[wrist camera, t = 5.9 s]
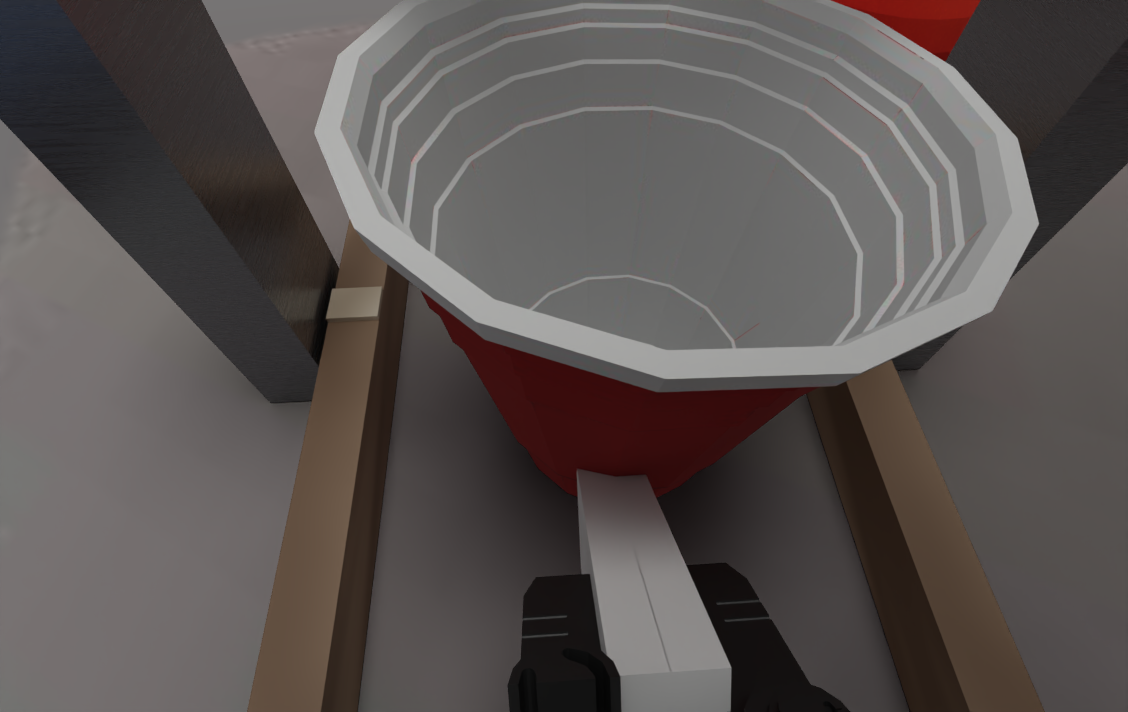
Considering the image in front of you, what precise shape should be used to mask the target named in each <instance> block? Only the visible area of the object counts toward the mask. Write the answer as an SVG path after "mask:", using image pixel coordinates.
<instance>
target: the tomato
mask: <svg viewBox="0 0 1128 712" xmlns="http://www.w3.org/2000/svg"><path fill="white" fill-rule="evenodd" d="M831 1H834V2H836V3H839V4H842V5H844V6H847V7H850V8H852V9H855V10H858V11H860V12H863V13H866V14H868V15H870V16H872V17H874V18H875V19H877V20H878V21H880V22H882V23H883V24H885V25H887V26H888V27H890V28H891V29H893V30H895V31H896V32H898V33H899V34H901V35H903V36H904V37H906V38H907V39H909V40H911V41H912V42H914V43H916V44H917V45H919V46H920V47H922V48H924V49H925V50H927V51H928V52H930V53H932V54H933V55H935V56H936V57H938V58H940V59H941V60H943V61H946V60H947V58H948V56H949V54H950V53H951V51H952V49H953V47H954V46H955V44H956V42H957V40H958V39H959V37H960V35H961V34H962V32H963V30H964V28H965V27H966V25H967V23H968V21H969V20H970V18H971V16H972V14H973V13H974V11H975V9H976V7H977V6H978V4H979V2H980V1H981V0H831Z"/></svg>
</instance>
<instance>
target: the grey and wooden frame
mask: <svg viewBox="0 0 1128 712" xmlns="http://www.w3.org/2000/svg"><path fill="white" fill-rule="evenodd" d="M945 62H946V63H948V64H949V65H951V66H953V67H954V68H955V69H956V70H957V71H958V72H959V73H960V74H961V76H962V77H963V78H964V79H965V80H966V81H967V82H968V83H969V85H970V86H971V87H972V88H973V89H974V90H975V91H976V92H977V94H978V95H979V96H980V97H981V98H982V99H983V100H984V101H985V102H986V104H987V105H988V106H989V107H990V108H991V109H992V110H993V111H994V113H995V114H996V115H997V116H998V117H999V118H1000V119H1001V120H1002V121H1003V123H1004V124H1005V125H1006V126H1007V127H1008V128H1009V129H1010V130H1011V132H1012V133H1013V134H1014V135H1015V136H1016V137H1017V138H1018V142H1019V146H1020V150H1021V154H1022V158H1023V162H1024V166H1025V170H1026V174H1027V178H1028V182H1029V186H1030V190H1031V194H1032V198H1033V202H1034V206H1035V210H1036V214H1037V218H1038V222H1039V225H1038V227H1037V229H1036V231H1035V232H1034V234H1033V236H1032V238H1031V240H1030V242H1029V244H1028V245H1027V247H1026V249H1025V251H1024V253H1023V255H1022V257H1021V259H1020V260H1019V262H1018V264H1017V266H1016V268H1015V270H1014V272H1013V273H1012V275H1011V277H1010V279H1011V278H1012V277H1013V276H1014V275H1015V274H1016V273H1017V272H1018V271H1019V270H1020V269H1021V268H1022V267H1023V266H1024V265H1025V264H1026V263H1027V262H1028V261H1029V260H1030V259H1031V258H1032V257H1033V256H1034V255H1035V254H1036V253H1037V252H1038V251H1039V250H1040V249H1041V248H1042V247H1043V246H1044V245H1045V244H1046V243H1047V242H1048V241H1049V240H1050V239H1051V238H1052V237H1053V236H1054V235H1055V234H1056V233H1057V232H1058V231H1059V230H1060V229H1062V228H1063V227H1064V226H1065V225H1066V224H1067V223H1068V222H1069V221H1070V220H1071V219H1072V218H1073V217H1074V216H1075V215H1076V214H1077V213H1078V212H1079V211H1080V210H1081V209H1082V208H1083V207H1084V206H1085V205H1086V204H1087V203H1088V202H1089V201H1090V200H1091V199H1092V198H1093V197H1094V196H1095V195H1096V194H1097V193H1098V192H1099V191H1100V190H1101V189H1102V188H1103V187H1104V186H1105V185H1106V184H1107V183H1108V182H1109V181H1110V180H1111V179H1112V178H1113V177H1114V176H1115V175H1116V174H1117V173H1118V172H1119V171H1120V170H1121V169H1122V168H1123V167H1124V166H1125V165H1126V164H1127V163H1128V0H981V1H980V2H979V4H978V6H977V7H976V9H975V11H974V13H973V14H972V16H971V18H970V20H969V21H968V23H967V25H966V27H965V28H964V30H963V32H962V34H961V35H960V37H959V39H958V40H957V42H956V44H955V46H954V47H953V49H952V51H951V53H950V54H949V56H948V58H947V60H946V61H945ZM0 119H1V120H2V121H3V122H4V124H6V126H7V127H8V128H9V129H10V130H11V131H12V132H13V133H14V134H15V135H16V136H17V137H18V138H19V139H20V140H21V141H22V142H23V143H24V145H25V146H26V147H27V148H28V149H29V150H30V151H31V152H32V153H33V154H34V155H35V156H36V157H37V158H38V159H39V160H40V161H41V162H42V163H43V164H44V166H45V167H46V168H47V169H48V170H49V171H50V172H51V173H52V174H53V175H54V176H55V177H56V178H57V179H58V180H59V181H60V182H61V183H62V184H63V185H64V187H65V188H66V189H67V190H68V191H69V192H70V193H71V194H72V195H73V196H74V197H75V198H76V199H77V200H78V201H79V202H80V203H81V204H82V205H83V206H84V208H85V209H86V210H87V211H88V212H89V213H90V214H91V215H92V216H93V217H94V218H95V219H96V220H97V221H98V222H99V223H100V224H101V225H102V226H103V227H104V229H105V230H106V231H107V232H108V233H109V234H110V235H111V236H112V237H113V238H114V239H115V240H116V241H117V242H118V243H119V244H120V245H121V246H122V247H123V248H124V250H125V251H126V252H127V253H128V254H129V255H130V256H131V257H132V258H133V259H134V260H135V261H136V262H137V263H138V264H139V265H140V266H141V267H142V268H143V269H144V271H145V272H146V273H147V274H148V275H149V276H150V277H151V278H152V279H153V280H154V281H155V282H156V283H157V284H158V285H159V286H160V287H161V288H162V289H163V290H164V292H165V293H166V294H167V295H168V296H169V297H170V298H171V299H172V300H173V301H174V302H175V303H176V304H177V305H178V306H179V307H180V308H181V309H182V310H183V311H184V313H185V314H186V315H187V316H188V317H189V318H190V319H191V320H192V321H193V322H194V323H195V324H196V325H197V326H198V327H199V328H200V329H201V330H202V331H203V332H204V334H205V335H206V336H207V337H208V338H209V339H210V340H211V341H212V342H213V343H214V344H215V345H216V346H217V347H218V348H219V349H220V350H221V351H222V352H223V353H224V355H225V356H226V357H227V358H228V359H229V360H230V361H231V362H232V363H233V364H234V365H235V366H236V367H237V368H238V369H239V370H240V371H241V372H242V373H243V374H244V376H245V377H246V378H247V379H248V380H249V381H250V382H251V383H252V384H253V385H254V386H255V387H256V388H257V389H258V390H259V391H260V392H261V393H262V394H263V395H264V397H265V398H266V399H267V400H268V401H269V402H270V403H276V402H295V401H312V403H311V407H310V412H309V417H308V422H307V427H306V431H305V436H304V441H303V446H302V451H301V455H300V460H299V465H298V470H297V475H296V479H295V484H294V489H293V494H292V499H291V503H290V508H289V513H288V518H287V523H286V527H285V532H284V537H283V542H282V547H281V551H280V556H279V561H278V566H277V571H276V575H275V580H274V585H273V590H272V595H271V599H270V604H269V609H268V614H267V619H266V623H265V628H264V633H263V638H262V643H261V647H260V652H259V657H258V662H257V667H256V672H255V676H254V681H253V686H252V691H251V696H250V700H249V705H248V710H247V712H357V710H358V701H359V693H360V685H361V676H362V668H363V659H364V651H365V643H366V634H367V626H368V618H369V609H370V601H371V593H372V584H373V576H374V567H375V559H376V551H377V542H378V534H379V526H380V517H381V509H382V500H383V492H384V484H385V475H386V467H387V459H388V450H389V442H390V434H391V425H392V417H393V408H394V400H395V392H396V383H397V375H398V367H399V358H400V350H401V341H402V333H403V325H404V316H405V308H406V300H407V291H408V283H409V280H407V279H406V278H405V277H403V276H402V275H401V274H400V273H398V272H397V271H396V270H394V269H393V268H392V267H390V266H389V265H388V264H387V263H385V262H384V261H383V260H381V259H380V258H379V257H378V256H376V255H375V254H374V253H372V252H371V250H370V249H369V248H368V246H367V245H366V244H365V242H364V241H363V240H362V238H361V237H360V236H359V234H358V233H357V232H356V230H355V229H354V227H353V225H352V222H351V220H349V225H348V230H347V235H346V239H345V244H344V249H343V254H342V259H341V263H340V268H339V267H338V265H337V263H336V261H335V260H334V258H333V256H332V254H331V252H330V250H329V248H328V246H327V244H326V242H325V240H324V238H323V236H322V234H321V232H320V230H319V228H318V226H317V224H316V223H315V221H314V219H313V217H312V215H311V213H310V211H309V209H308V207H307V205H306V203H305V201H304V199H303V197H302V195H301V193H300V191H299V189H298V187H297V185H296V184H295V182H294V180H293V178H292V176H291V174H290V172H289V170H288V168H287V166H286V164H285V162H284V160H283V158H282V156H281V154H280V152H279V150H278V148H277V147H276V145H275V143H274V141H273V139H272V137H271V135H270V133H269V131H268V129H267V127H266V125H265V123H264V121H263V119H262V117H261V115H260V113H259V111H258V109H257V108H256V106H255V104H254V102H253V100H252V98H251V96H250V94H249V92H248V90H247V88H246V86H245V84H244V82H243V80H242V78H241V76H240V74H239V72H238V71H237V69H236V67H235V65H234V63H233V61H232V59H231V57H230V55H229V53H228V51H227V49H226V47H225V45H224V43H223V41H222V39H221V37H220V35H219V34H218V32H217V30H216V28H215V26H214V24H213V22H212V20H211V18H210V16H209V14H208V12H207V10H206V8H205V6H204V4H203V2H202V0H0ZM1010 279H1009V280H1010ZM960 328H961V327H960ZM960 328H957V329H955V330H953V331H951V332H949V333H947V334H945V335H943V336H941V337H938V338H936V339H934V340H932V341H930V342H928V343H926V344H924V345H922V346H919V347H917V348H915V349H913V350H911V351H909V352H907V353H905V354H903V355H900V356H898V357H896V358H894V359H892V360H890V361H888V362H886V363H883V364H881V365H879V366H877V367H875V368H873V369H871V370H869V371H867V372H864V373H862V374H860V375H858V376H856V377H854V378H852V379H850V380H848V381H845V382H843V383H841V384H839V385H837V386H825V387H819V388H817V389H815V390H813V391H811V392H809V393H807V396H808V400H809V403H810V406H811V409H812V412H813V415H814V418H815V421H816V424H817V427H818V430H819V433H820V436H821V439H822V442H823V445H824V449H825V452H826V455H827V458H828V461H829V464H830V467H831V470H832V473H833V476H834V479H835V482H836V485H837V488H838V491H839V494H840V497H841V501H842V504H843V507H844V510H845V513H846V516H847V519H848V522H849V525H850V528H851V531H852V534H853V537H854V540H855V543H856V546H857V550H858V553H859V556H860V559H861V562H862V565H863V568H864V571H865V574H866V577H867V580H868V583H869V586H870V589H871V592H872V595H873V598H874V602H875V605H876V608H877V611H878V614H879V617H880V620H881V623H882V626H883V629H884V632H885V635H886V638H887V641H888V644H889V647H890V651H891V654H892V657H893V660H894V663H895V666H896V669H897V672H898V675H899V678H900V681H901V684H902V687H903V690H904V693H905V696H906V699H907V703H908V706H909V709H910V712H1045V711H1044V709H1043V707H1042V704H1041V702H1040V700H1039V697H1038V695H1037V693H1036V690H1035V688H1034V686H1033V684H1032V681H1031V679H1030V677H1029V674H1028V672H1027V670H1026V667H1025V665H1024V663H1023V661H1022V658H1021V656H1020V654H1019V651H1018V649H1017V647H1016V644H1015V642H1014V640H1013V638H1012V635H1011V633H1010V631H1009V628H1008V626H1007V624H1006V621H1005V619H1004V617H1003V615H1002V612H1001V610H1000V608H999V605H998V603H997V601H996V598H995V596H994V594H993V592H992V589H991V587H990V585H989V582H988V580H987V578H986V575H985V573H984V571H983V569H982V566H981V564H980V562H979V559H978V557H977V555H976V553H975V550H974V548H973V546H972V543H971V541H970V539H969V536H968V534H967V532H966V530H965V527H964V525H963V523H962V520H961V518H960V516H959V513H958V511H957V509H956V507H955V504H954V502H953V500H952V497H951V495H950V493H949V490H948V488H947V486H946V484H945V481H944V479H943V477H942V474H941V472H940V470H939V467H938V465H937V463H936V461H935V458H934V456H933V454H932V451H931V449H930V447H929V444H928V442H927V440H926V438H925V435H924V433H923V431H922V428H921V426H920V424H919V421H918V419H917V417H916V415H915V412H914V410H913V408H912V405H911V403H910V401H909V398H908V396H907V394H906V392H905V389H904V387H903V385H902V382H901V380H900V378H899V375H898V373H897V371H896V370H908V369H920V368H921V367H922V366H923V365H924V364H925V363H926V362H927V361H928V360H929V359H930V358H931V357H932V356H933V355H934V354H935V353H936V352H937V351H938V350H939V349H940V348H941V347H942V346H943V345H944V344H945V343H946V342H947V341H948V340H949V339H950V338H951V337H952V336H953V335H954V334H955V333H956V332H957V331H958V330H959V329H960Z"/></svg>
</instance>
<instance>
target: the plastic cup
mask: <svg viewBox="0 0 1128 712" xmlns="http://www.w3.org/2000/svg"><path fill="white" fill-rule="evenodd" d="M314 133H315V136H316V138H317V140H318V143H319V145H320V148H321V150H322V153H323V155H324V157H325V160H326V162H327V165H328V167H329V169H330V172H331V174H332V177H333V179H334V181H335V184H336V186H337V189H338V191H339V194H340V196H341V198H342V201H343V203H344V206H345V208H346V210H347V213H348V215H349V218H350V220H351V222H352V225H353V227H354V229H355V230H356V232H357V233H358V234H359V236H360V237H361V238H362V240H363V241H364V242H365V244H366V245H367V246H368V248H369V249H370V250H371V252H372V253H374V254H375V255H376V256H378V257H379V258H380V259H381V260H383V261H384V262H385V263H387V264H388V265H389V266H390V267H392V268H393V269H394V270H396V271H397V272H398V273H400V274H401V275H402V276H403V277H405V278H406V279H407V280H409V281H410V282H411V283H412V284H414V285H415V286H416V287H418V288H419V289H420V290H421V292H422V294H423V296H424V298H425V300H426V302H427V304H428V306H429V308H430V309H432V310H433V311H434V312H435V313H437V314H438V315H439V316H440V317H441V319H442V321H443V323H444V325H445V327H446V329H447V331H448V333H449V335H450V337H451V339H452V341H453V342H454V343H455V344H456V345H458V346H459V347H460V348H462V349H463V350H464V352H465V353H466V355H467V357H468V358H469V360H470V362H471V363H472V365H473V367H474V369H475V370H476V372H477V374H478V375H479V377H480V379H481V380H482V382H483V384H484V385H485V387H486V389H487V390H488V392H489V394H490V396H491V397H492V399H493V401H494V402H495V404H496V406H497V407H498V409H499V411H500V412H501V414H502V416H503V417H504V419H505V421H506V423H507V424H508V426H509V428H510V429H511V431H512V433H513V434H514V436H515V438H516V439H517V441H518V442H519V443H520V444H521V445H522V446H524V447H525V448H526V449H527V450H528V452H529V454H530V456H531V457H532V459H533V461H534V462H535V464H536V466H537V467H538V469H539V470H541V471H542V472H543V473H544V474H545V475H547V476H548V477H549V478H550V479H551V480H553V481H554V482H555V483H556V484H557V485H558V486H560V487H561V488H562V489H563V490H564V491H566V492H567V493H568V494H571V495H573V496H577V497H578V492H577V469H581V470H586V471H591V472H596V473H600V474H605V475H610V476H615V477H618V476H633V475H646V476H647V478H648V481H649V483H650V485H651V487H652V490H653V492H654V494H655V496H656V498H657V497H659V496H661V495H663V494H665V493H667V492H669V491H671V490H673V489H675V488H677V487H679V486H681V485H682V484H683V483H684V482H686V481H687V480H688V479H689V478H690V477H692V476H693V475H694V474H695V473H696V472H698V471H700V470H702V469H704V468H706V467H708V466H710V465H712V464H713V463H715V462H716V461H717V460H719V459H720V458H721V457H723V456H724V455H725V454H726V453H728V452H729V451H730V450H732V449H733V448H734V447H735V446H737V445H738V444H739V443H741V442H742V441H743V440H745V439H746V438H747V437H748V436H750V435H751V434H752V433H754V432H755V431H756V430H757V429H759V428H760V427H761V426H763V425H764V424H765V423H766V422H768V421H769V420H770V419H772V418H773V417H774V416H776V415H777V414H778V413H779V412H781V411H782V410H783V409H785V408H786V407H787V406H788V405H790V404H791V403H792V402H794V401H795V400H796V399H798V398H799V397H800V396H802V395H804V394H807V393H809V392H811V391H813V390H815V389H817V388H819V387H825V386H837V385H839V384H841V383H843V382H845V381H848V380H850V379H852V378H854V377H856V376H858V375H860V374H862V373H864V372H867V371H869V370H871V369H873V368H875V367H877V366H879V365H881V364H883V363H886V362H888V361H890V360H892V359H894V358H896V357H898V356H900V355H903V354H905V353H907V352H909V351H911V350H913V349H915V348H917V347H919V346H922V345H924V344H926V343H928V342H930V341H932V340H934V339H936V338H938V337H941V336H943V335H945V334H947V333H949V332H951V331H953V330H955V329H957V328H960V327H962V326H964V325H966V324H968V323H970V322H972V321H974V320H976V319H978V318H980V317H982V316H984V315H986V314H988V313H990V312H992V311H993V309H994V307H995V305H996V303H997V301H998V300H999V298H1000V296H1001V294H1002V292H1003V290H1004V288H1005V286H1006V285H1007V283H1008V281H1009V279H1010V277H1011V275H1012V273H1013V272H1014V270H1015V268H1016V266H1017V264H1018V262H1019V260H1020V259H1021V257H1022V255H1023V253H1024V251H1025V249H1026V247H1027V245H1028V244H1029V242H1030V240H1031V238H1032V236H1033V234H1034V232H1035V231H1036V229H1037V227H1038V225H1039V222H1038V218H1037V214H1036V210H1035V206H1034V202H1033V198H1032V194H1031V190H1030V186H1029V182H1028V178H1027V174H1026V170H1025V166H1024V162H1023V158H1022V154H1021V150H1020V146H1019V142H1018V138H1017V137H1016V136H1015V135H1014V134H1013V133H1012V132H1011V130H1010V129H1009V128H1008V127H1007V126H1006V125H1005V124H1004V123H1003V121H1002V120H1001V119H1000V118H999V117H998V116H997V115H996V114H995V113H994V111H993V110H992V109H991V108H990V107H989V106H988V105H987V104H986V102H985V101H984V100H983V99H982V98H981V97H980V96H979V95H978V94H977V92H976V91H975V90H974V89H973V88H972V87H971V86H970V85H969V83H968V82H967V81H966V80H965V79H964V78H963V77H962V76H961V74H960V73H959V72H958V71H957V70H956V69H955V68H954V67H953V66H951V65H949V64H948V63H946V62H945V61H943V60H941V59H940V58H938V57H936V56H935V55H933V54H932V53H930V52H928V51H927V50H925V49H924V48H922V47H920V46H919V45H917V44H916V43H914V42H912V41H911V40H909V39H907V38H906V37H904V36H903V35H901V34H899V33H898V32H896V31H895V30H893V29H891V28H890V27H888V26H887V25H885V24H883V23H882V22H880V21H878V20H877V19H875V18H874V17H872V16H870V15H868V14H866V13H863V12H860V11H858V10H855V9H852V8H850V7H847V6H844V5H842V4H839V3H836V2H834V1H831V0H404V1H401V2H400V3H399V4H397V5H396V6H395V7H394V8H393V9H392V10H390V11H389V12H388V13H387V14H386V15H385V16H383V17H382V18H381V19H380V20H379V21H378V22H376V23H375V24H374V25H373V26H372V27H371V28H369V29H368V30H367V31H366V32H365V33H364V34H362V35H361V36H360V37H359V38H358V39H357V40H355V41H354V42H353V43H352V44H351V45H350V46H348V47H347V48H346V49H345V50H344V51H343V52H341V53H340V54H339V55H338V57H337V61H336V64H335V67H334V70H333V73H332V77H331V80H330V83H329V86H328V90H327V93H326V96H325V99H324V103H323V106H322V109H321V112H320V115H319V119H318V122H317V125H316V128H315V132H314Z"/></svg>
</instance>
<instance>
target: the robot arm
mask: <svg viewBox="0 0 1128 712" xmlns="http://www.w3.org/2000/svg"><path fill="white" fill-rule="evenodd" d="M577 492H578V514H579V536H580V559H581V572H582V574H579V575H564V576H549V577H536V578H535V579H534V581H533V582H532V584H531V586H530V587H529V589H528V590H527V592H526V593H525V595H524V601H523V624H522V646H521V660H520V661H519V662H518V663H517V665H516V666H515V667H514V668H513V670H512V673H511V676H510V680H509V683H508V694H509V707H510V712H850V711H849V710H848V709H847V708H846V707H845V706H844V704H843V703H842V702H841V701H840V700H838V699H837V698H835V697H834V696H832V695H831V694H829V693H827V692H826V691H824V690H823V689H821V688H819V687H816V686H813V685H811V684H810V683H809V681H808V680H807V678H806V676H805V675H804V673H803V671H802V670H801V668H800V666H799V665H798V663H797V661H796V660H795V658H794V656H793V655H792V653H791V651H790V650H789V648H788V646H787V645H786V643H785V641H784V640H783V638H782V636H781V635H780V633H779V631H778V630H777V628H776V626H775V625H774V623H773V621H772V620H770V619H769V615H768V613H767V611H766V610H765V608H764V606H763V605H762V603H761V602H759V598H758V596H757V595H756V593H755V591H754V590H753V588H752V587H751V585H750V583H749V582H748V580H747V578H745V577H744V576H743V575H741V574H740V573H739V572H737V571H736V570H735V569H733V568H732V567H731V566H729V565H728V564H727V563H715V564H700V565H686V564H685V562H684V560H683V557H682V555H681V553H680V550H679V548H678V546H677V544H676V541H675V539H674V537H673V535H672V532H671V530H670V528H669V526H668V523H667V521H666V519H665V517H664V514H663V512H662V510H661V508H660V505H659V503H658V501H657V499H656V496H655V494H654V492H653V490H652V487H651V485H650V483H649V481H648V478H647V476H646V475H633V476H618V477H615V476H610V475H605V474H600V473H596V472H591V471H586V470H581V469H577Z"/></svg>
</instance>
